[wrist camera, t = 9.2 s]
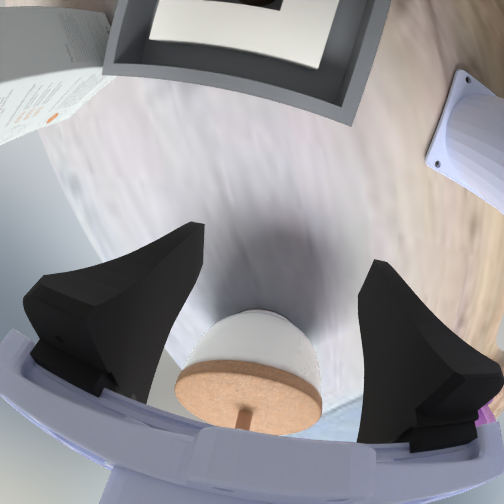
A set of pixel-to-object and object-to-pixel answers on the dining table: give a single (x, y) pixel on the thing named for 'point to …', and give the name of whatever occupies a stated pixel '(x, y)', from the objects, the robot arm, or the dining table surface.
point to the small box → (48, 65)
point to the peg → (257, 2)
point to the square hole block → (254, 48)
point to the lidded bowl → (253, 375)
